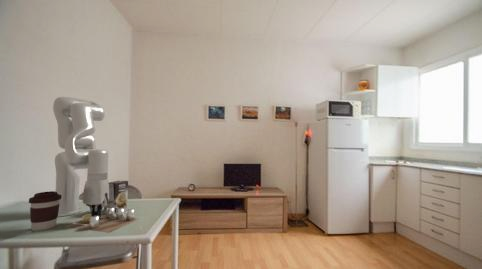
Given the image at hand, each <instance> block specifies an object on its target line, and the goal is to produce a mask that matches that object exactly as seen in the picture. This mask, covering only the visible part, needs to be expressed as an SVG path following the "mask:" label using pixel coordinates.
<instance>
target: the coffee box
mask: <svg viewBox="0 0 482 269" xmlns="http://www.w3.org/2000/svg"><path fill="white" fill-rule="evenodd" d="M108 183H109V201H108V202H107V206H105V207H103V215H104V214H106V213H107V208H109V207H115V214H114V215H116V209H118V208H124V211H127V209H128V196H129V193H128V192H129V180H117V181H116V180H115V181H111V182H109V181H108Z"/></svg>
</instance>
